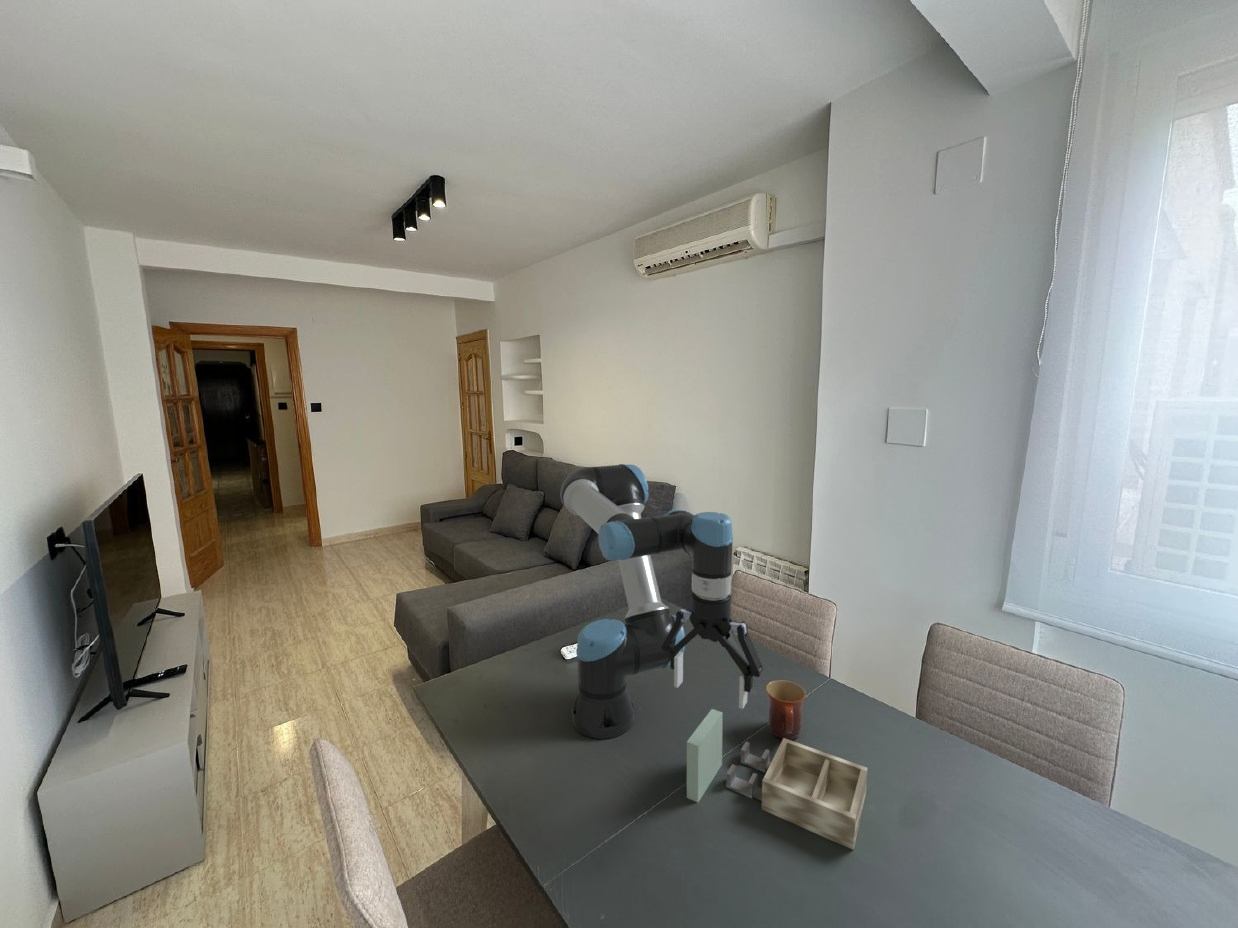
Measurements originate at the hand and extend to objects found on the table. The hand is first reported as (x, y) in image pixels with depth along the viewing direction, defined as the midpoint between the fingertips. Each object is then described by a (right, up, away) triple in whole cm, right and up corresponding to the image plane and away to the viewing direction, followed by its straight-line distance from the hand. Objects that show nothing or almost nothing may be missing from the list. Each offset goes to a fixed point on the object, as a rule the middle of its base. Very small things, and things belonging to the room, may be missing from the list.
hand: (709, 694), depth 101 cm
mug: (+20, -17, +15) cm, 30 cm away
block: (-1, -19, +2) cm, 19 cm away
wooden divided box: (+16, -19, -2) cm, 25 cm away
